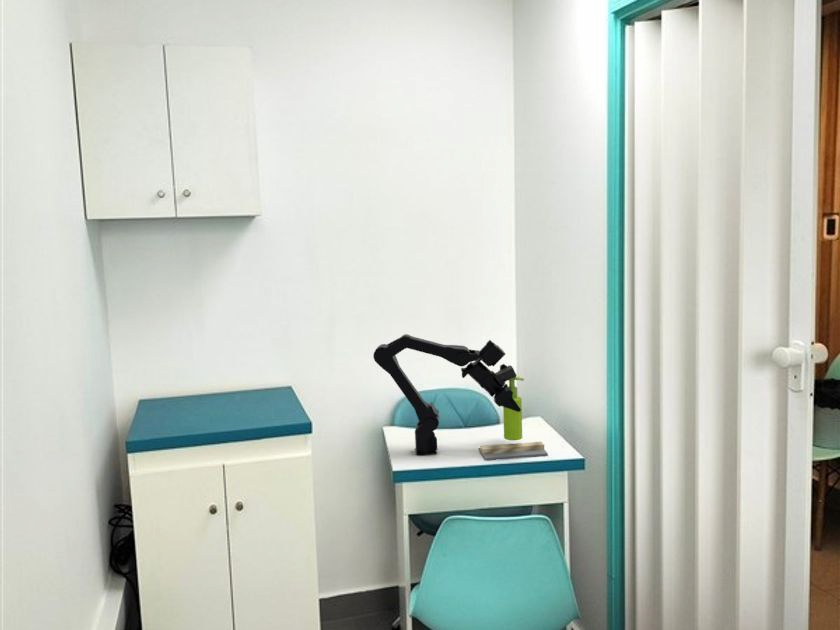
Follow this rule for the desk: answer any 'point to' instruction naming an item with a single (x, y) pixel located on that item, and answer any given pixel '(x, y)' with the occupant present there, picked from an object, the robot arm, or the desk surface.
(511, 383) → the soap dispenser
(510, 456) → the base board
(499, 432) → the desk surface
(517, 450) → the ridge
